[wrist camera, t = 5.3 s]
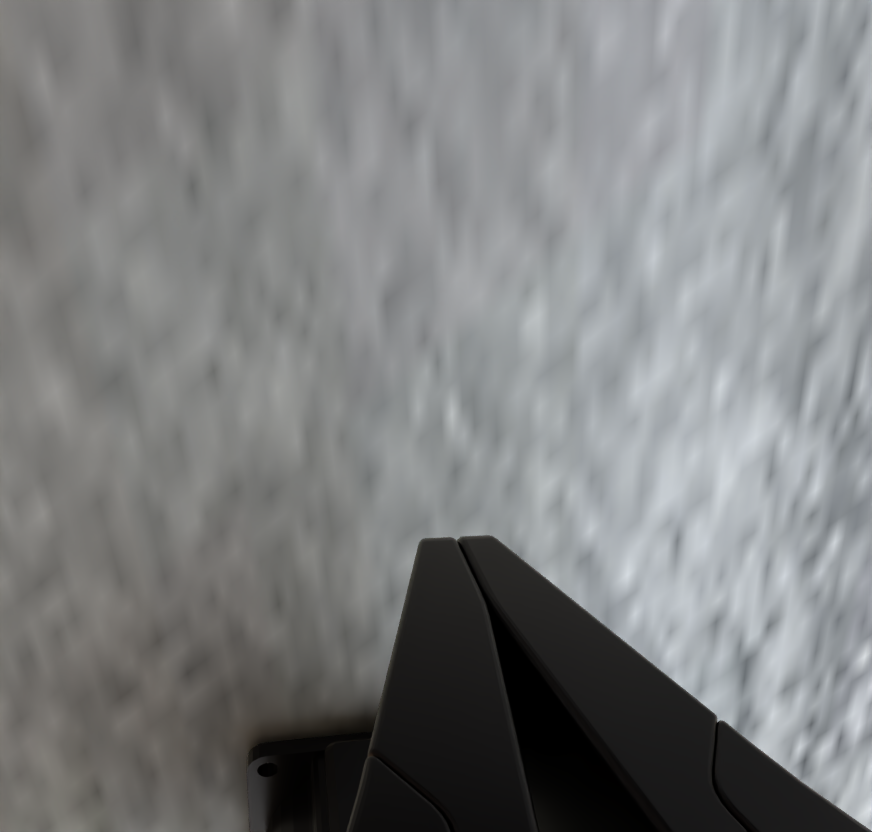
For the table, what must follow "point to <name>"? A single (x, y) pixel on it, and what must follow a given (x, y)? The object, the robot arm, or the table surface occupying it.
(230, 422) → the table surface
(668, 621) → the table surface
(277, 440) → the table surface
